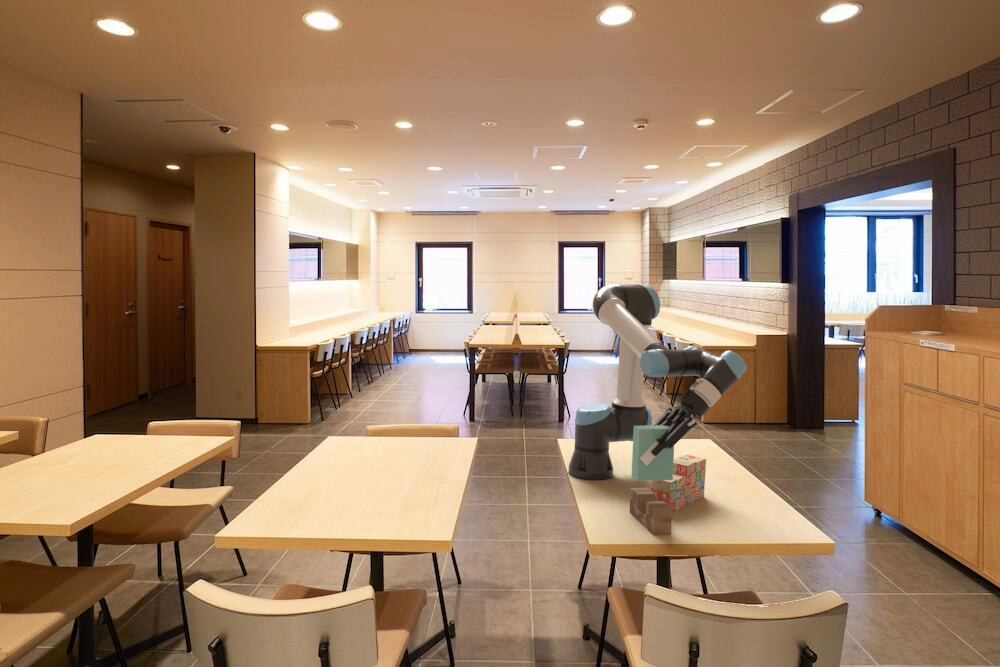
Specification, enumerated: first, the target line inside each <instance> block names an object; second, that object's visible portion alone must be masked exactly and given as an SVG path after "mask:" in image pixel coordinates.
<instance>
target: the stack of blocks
mask: <svg viewBox="0 0 1000 667" xmlns="http://www.w3.org/2000/svg"><path fill="white" fill-rule="evenodd" d="M706 463H707V458H705V457H699V456H695V455H691V454H686V455H681V456H679V457H676V458H674V460H673V480H655V481H651V488H650V490H651V491H652V492H653V493H655V496H654V502H656V501H664V502H666V503H667V504H668V505H669V506H671V507H672V512H674V511H677V510H679V509H681V508H684V507H685V506H688V505H689V504H692V503H694V502H696V501H698V500H701V499H703V498H705V483H706V482H705V481H706V471H707V470H706V465H707V464H706Z"/></svg>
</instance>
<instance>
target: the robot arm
mask: <svg viewBox="0 0 1000 667" xmlns="http://www.w3.org/2000/svg"><path fill="white" fill-rule="evenodd" d="M592 309H593V310H592V312H594V315H595V317H596V318H597V320H599V321H600V323H602V325H605V326H608V327H610V328H611V330H613V331H614V332H615V334H616V335H617V336H618V337H619V338H620V339H619V341H620V342H619V352H618V353H619V356H618V367H617V368H618V372H617V387H616V396H615V398H613V399H612V400H611V406H610V405H609V404H606V403H602V402H601V403H596V402H595V403H588V404H584V405H580V406H579V407H578V408H577V410H576V411H575V412H576V413H575V419H574V424H575V425H574V449H573V450H574V451H573V452H572V456H571V458H570V461H569V463H568V474H570V475H571V476H573V477H575V478H579V479H584V480H589V481H590V480H599V481H600V480H606V479H610V478H612V477H614V465H613V463H612V459H611V455H610V443H616V442H618V443H619V442H633V431H634V426H652V425H666V426H670V427H669V429H668V430H667V431H666V432H665V434H664V435H663V436H662V437H661V439H657V441H658V442H659V443H658V442H657V441H656V442H655V443H654V444H653V445H652V446H651V447H650V448H649V449H648V450H647V451H646V452H645V453H644V454H643V455H642V456H641V457H640V458H639V459H640V460H641V461H642V462H643V463H644V464H645V465H646V466H647V465H648V464H649V463H650V462H651V461H652V460H653V459H654V458H655V457H656V456H657V455H658V454H659V453H660V452H661V451H662V450H663V449H664V448H667V447H668V448H669V449H670V448H672V447H673V446H674V447H675V445H676V444H677V443H678V442H680V440H682V438H683V437H684V436H685V435H686V434H688V432H689V431H690V430H691V429H693V428H694V427H696V426H697V425H698V423H697V421H696V420H695V418H702V417H703V416H704V415H705V414H706V413H707V412H708V411H709V410H710V408H711V407H713V406H714V405H715V404H716V403H717V402H718V401H719V400H720V399H721V397H722V396H724V394H725V393H726V392H727V391H728V390H729V389H730V388H731V387H732V386H733V385H734V384H736V382H737V381H738V380H740V378H741V377H742V376H743V375H744V374H745V372H746V371H747V368H748V366H747V364H746V362H745V360H744V359H743V358H742V357H741V356H740V355H739V354H737V353H736V352H734V351H732V350H725V351H724V352H723V353H721V355H718V354H715V353H713V352H710V351H708V350H706V349H705V348H702V347H700V346H696V345H688V346H687V347H684V348H683V349H669V348H668V347H667V346H665V345H664V344H663V343H662V342H661V341H660V340H659V339H658V338H657V337H656V336H655V335H654V334H653V333H652V331H650V330H649V328H650V327H651V326H652V323H653V322H652V320H654V319H656V318H657V317H658V315H659V314H660V311H661V300H660V297H659V294H658V292H657V291H656V289H655V288H654V287H652V286H651V285H646V284H640V283H639V284H637V283H636V284H634V283H633V284H629V283H627V284H626V283H625V284H623V283H622V284H621V283H619V284H618V283H611V284H606V285H604V286H602V287H600V288H599V290H598V291H596V293H595V295H594V296H593V300H592ZM644 375H645V376H646V377H649V378H650V377H653V378H663V377H693V376H696V377H699V378H697V379H695V382H693V384H692V385H691V386H690V388H689V389H687V390H686V391H685V392H684V393H683V394H682V395H681V396H680V397H679V402H680V404H679V405H677V406H676V407H675V408H672V407H671V406H670V407H668V408H667V409H666V410H665V412H664V413H663V414H662V415H661V417H660V418H659V419H658V420H656V422H654V424H653V417H652V413H651V412H652V411H650V409H649V408H648V407H647V403H646V402H645V401H644V399H643V387H644ZM631 454H632V455H633V452H632V453H631Z"/></svg>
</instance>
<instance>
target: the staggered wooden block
mask: <svg viewBox="0 0 1000 667" xmlns="http://www.w3.org/2000/svg"><path fill="white" fill-rule="evenodd" d="M654 496H655V493H653V492H652V491H651V488H650V489H649V488H648V487H631V488H630V494H629V513H630V514H631V515H632V516H633V517H634V518H635V519H636V520H637V521H638V522H639V523H640V524H641V525H642V526H643V527H644V526H645V527H646V528H647V529H648V530H647V529H646V528H645V527H644V528H645V529H646V530H647V531H649V533H650V534H651V535H653V536H658V535H659V536H660V535H662V536H663V535H671V534H672V526H673V525H672V524H673V511H672V507H671V506H669V505H668V504H667V503H666V502H664V501H656V502H654Z"/></svg>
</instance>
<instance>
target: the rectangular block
mask: <svg viewBox="0 0 1000 667" xmlns="http://www.w3.org/2000/svg"><path fill="white" fill-rule="evenodd" d="M669 427H670V426H666V425H654V424H652V426H634V431H633V441H632V453H633V454H632V459H631V460H632V461H631V462H632V463H631V477H632V478H633V480H634V479H635V481H637V482H648V481H649V482H652V481H655V480H673V460H674V459H675V458H674V457H675V445H674V446H673V447H672V448H670V449H669V448H668V447H667V448H664V449H663V450H662V451H661V452H660V453H659V454H658V455H657V456H656V457H655V458H654V459H653V460H652V461H651V462H650V463H649V464H648V465H647V466H646V465H645V464H644V463H643V462H642V461H641V460H640V459H639V458H640V457H641V456H642V455H643V454H644V453H645V452H646V451H647V450H648V449H649V448H650V447H651V446H652V445H653V444H654V443H655V442H656V441H657V439H661V437H662V436H663V435H664V434H665V432H666V431H667V430H668V429H669ZM657 442H658V441H657ZM658 443H659V442H658Z"/></svg>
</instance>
